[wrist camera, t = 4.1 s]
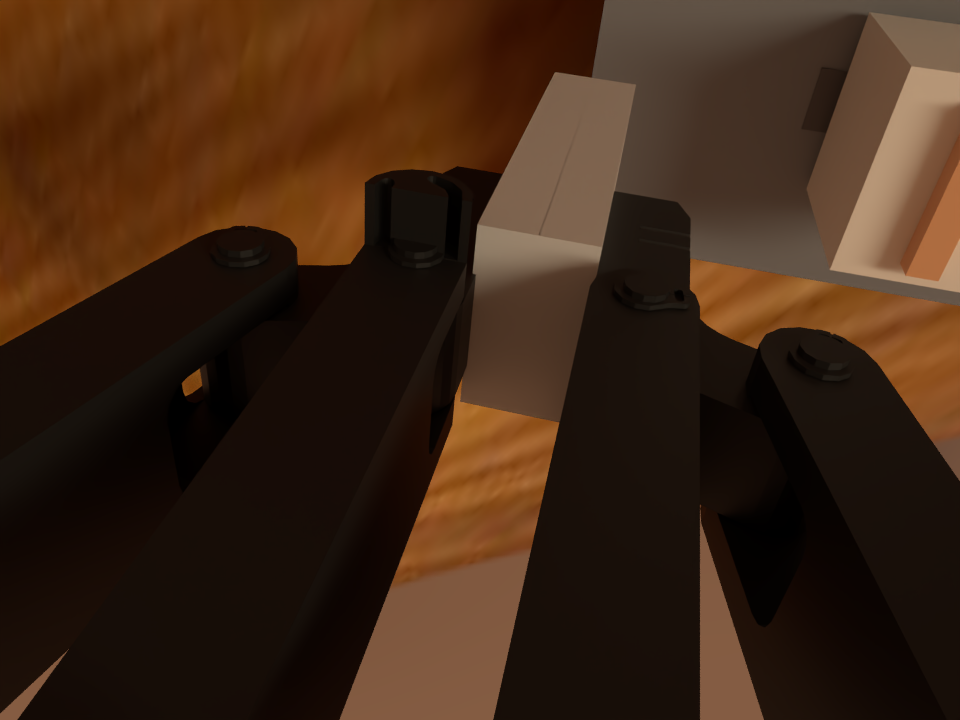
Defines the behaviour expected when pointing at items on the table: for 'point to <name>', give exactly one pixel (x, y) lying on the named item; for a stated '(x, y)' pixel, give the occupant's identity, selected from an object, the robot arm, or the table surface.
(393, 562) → the robot arm
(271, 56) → the table surface
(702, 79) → the switch unit
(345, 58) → the table surface
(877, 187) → the knob
